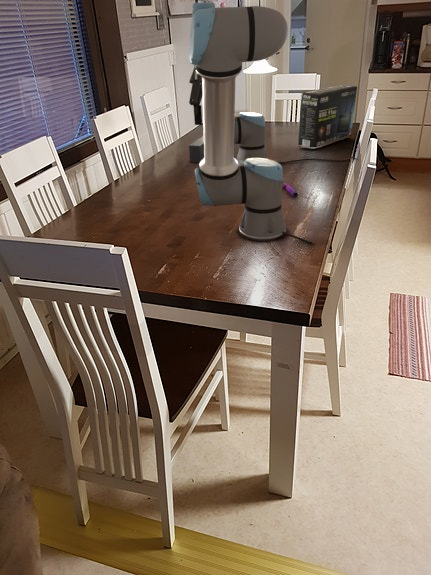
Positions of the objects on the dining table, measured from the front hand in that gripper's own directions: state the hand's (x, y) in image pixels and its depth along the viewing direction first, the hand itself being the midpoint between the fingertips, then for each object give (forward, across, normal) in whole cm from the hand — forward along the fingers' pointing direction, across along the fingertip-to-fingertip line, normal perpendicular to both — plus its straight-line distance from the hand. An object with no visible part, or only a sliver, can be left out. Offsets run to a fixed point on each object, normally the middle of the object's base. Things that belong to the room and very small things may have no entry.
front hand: (208, 121), depth 166 cm
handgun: (+28, -18, +22) cm, 40 cm away
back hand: (+3, -62, -37) cm, 72 cm away
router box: (+28, -96, +14) cm, 101 cm away
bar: (+28, -52, -34) cm, 68 cm away
